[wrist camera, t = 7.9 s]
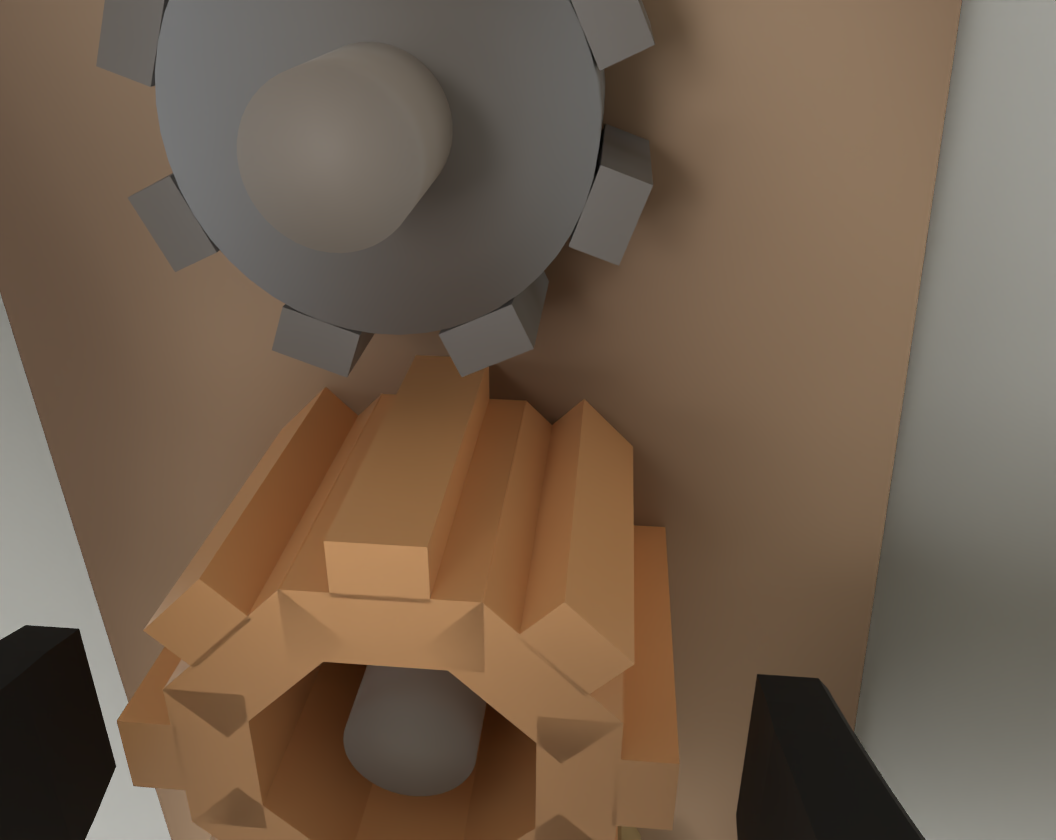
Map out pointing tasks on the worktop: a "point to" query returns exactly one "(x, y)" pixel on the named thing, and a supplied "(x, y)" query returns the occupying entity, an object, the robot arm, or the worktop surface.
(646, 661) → the idler gear
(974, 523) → the worktop surface
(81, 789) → the robot arm
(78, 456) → the gear board
